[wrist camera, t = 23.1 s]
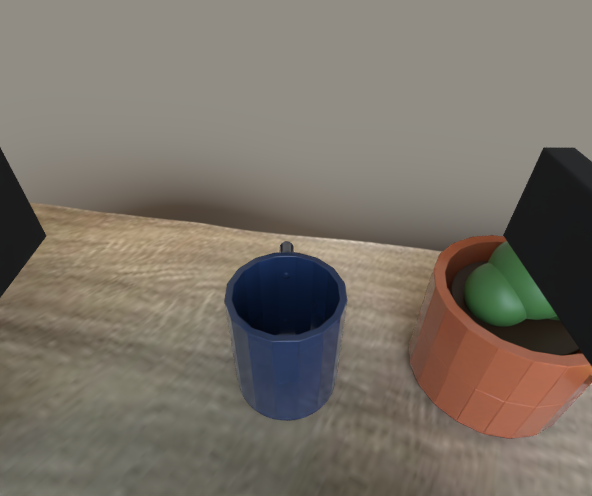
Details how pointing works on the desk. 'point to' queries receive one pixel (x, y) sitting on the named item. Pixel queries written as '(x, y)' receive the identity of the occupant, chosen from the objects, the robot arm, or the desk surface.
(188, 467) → the desk surface
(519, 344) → the plant
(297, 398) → the mug
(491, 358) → the flower pot
